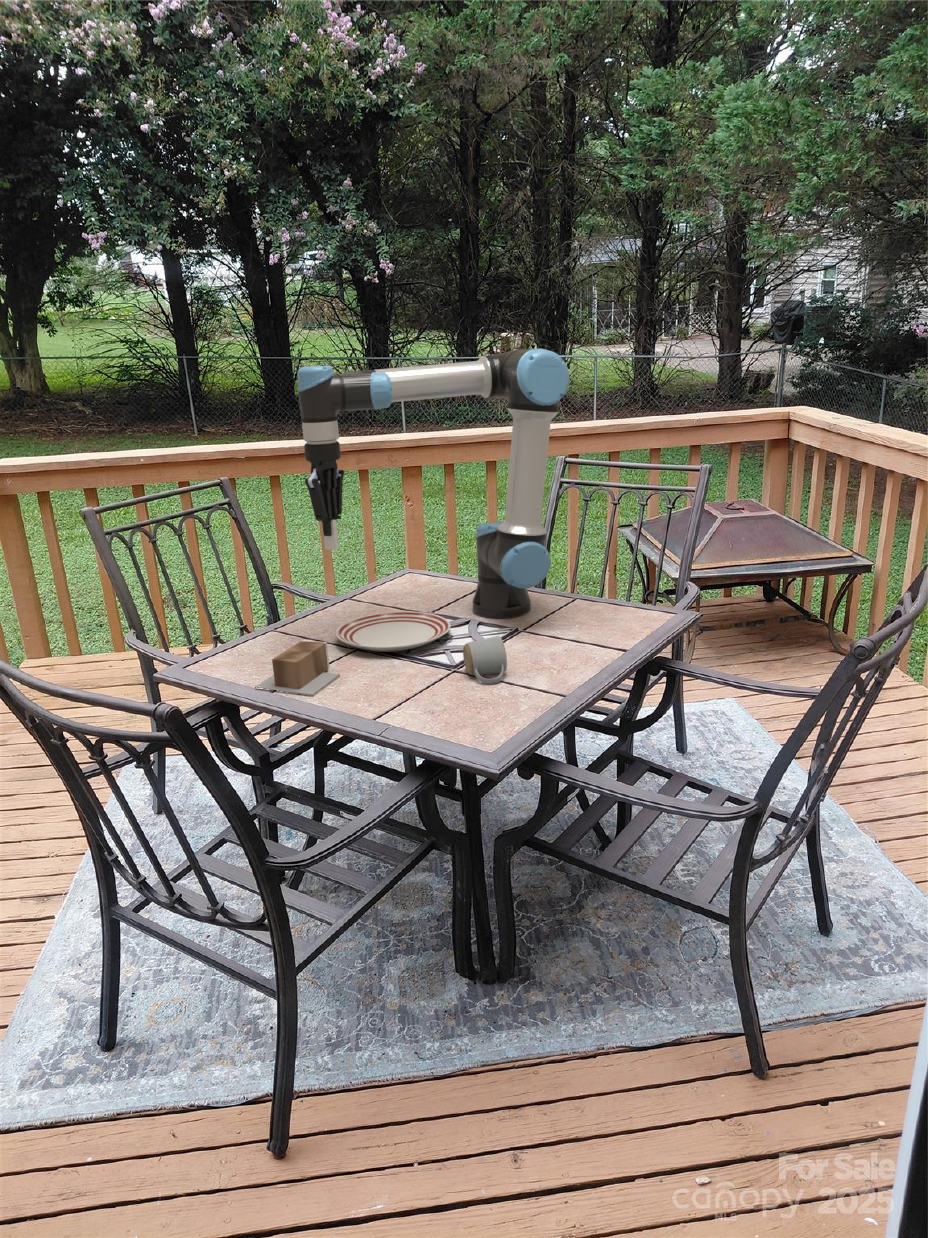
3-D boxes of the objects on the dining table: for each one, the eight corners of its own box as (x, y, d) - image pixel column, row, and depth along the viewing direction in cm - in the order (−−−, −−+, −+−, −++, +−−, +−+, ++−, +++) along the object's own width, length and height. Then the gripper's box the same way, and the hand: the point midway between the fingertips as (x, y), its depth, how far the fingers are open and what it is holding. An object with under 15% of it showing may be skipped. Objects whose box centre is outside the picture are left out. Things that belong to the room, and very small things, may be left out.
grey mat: (339, 676, 180) (339, 674, 179) (313, 696, 170) (312, 694, 170) (284, 669, 185) (284, 667, 184) (255, 689, 175) (254, 687, 175)
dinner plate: (348, 622, 215) (347, 609, 214) (454, 619, 213) (454, 607, 212) (325, 661, 189) (324, 648, 188) (446, 659, 187) (445, 645, 186)
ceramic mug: (462, 668, 181) (460, 635, 178) (498, 663, 182) (497, 631, 180) (474, 688, 171) (472, 653, 168) (512, 682, 173) (511, 648, 170)
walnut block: (326, 642, 181) (296, 662, 171) (329, 667, 183) (300, 689, 173) (302, 639, 183) (271, 659, 173) (305, 665, 185) (275, 686, 175)
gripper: (322, 437, 186) (332, 541, 193) (289, 445, 174) (301, 555, 182) (351, 437, 183) (360, 542, 190) (321, 445, 171) (332, 557, 179)
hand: (332, 548), depth 186 cm, fingers closed
